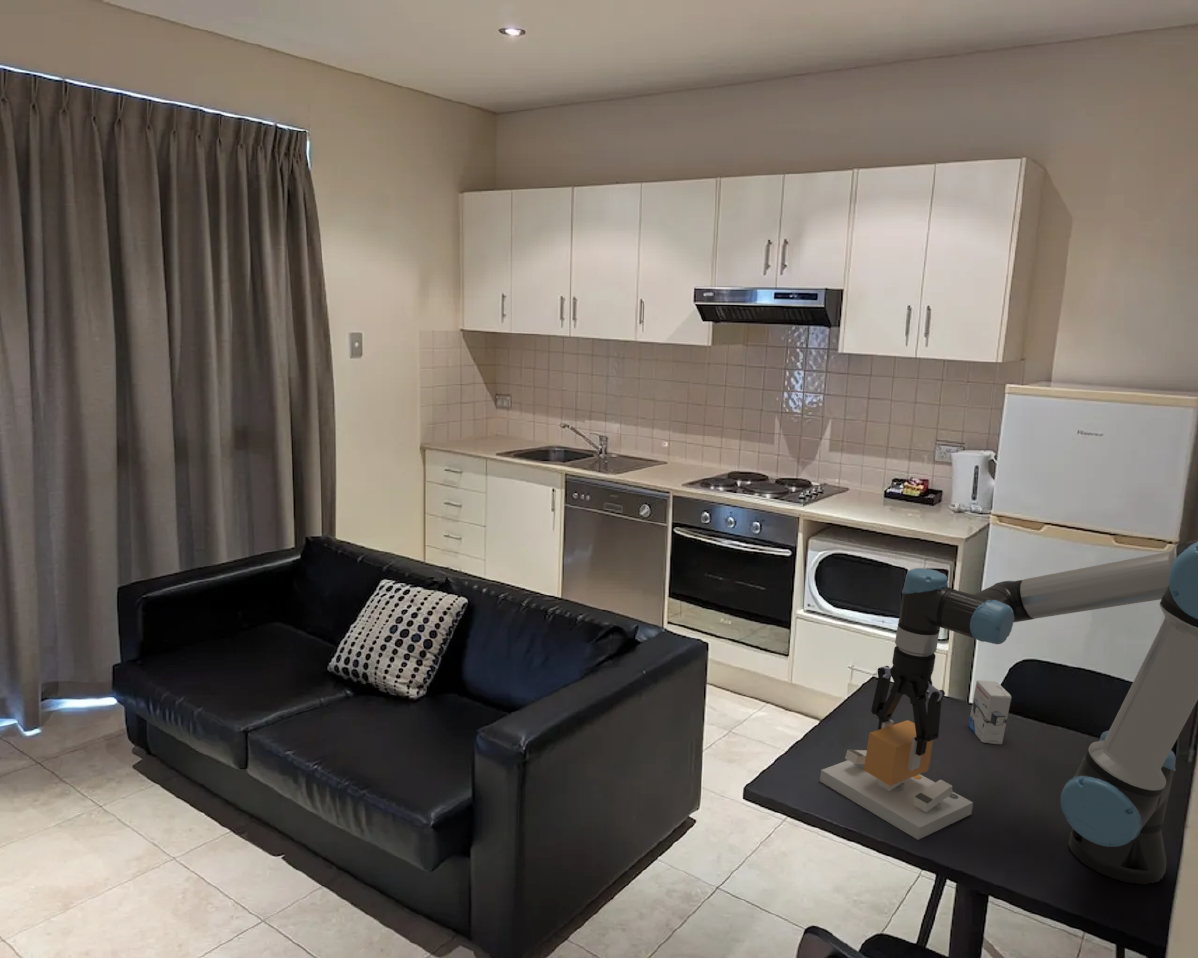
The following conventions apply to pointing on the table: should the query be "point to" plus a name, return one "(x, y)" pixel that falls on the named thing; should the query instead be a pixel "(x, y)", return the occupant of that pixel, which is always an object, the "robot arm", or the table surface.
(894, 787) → the block
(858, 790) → the panel
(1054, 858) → the table surface
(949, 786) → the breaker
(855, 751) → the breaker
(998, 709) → the ink box
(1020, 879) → the table surface
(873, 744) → the brown block
